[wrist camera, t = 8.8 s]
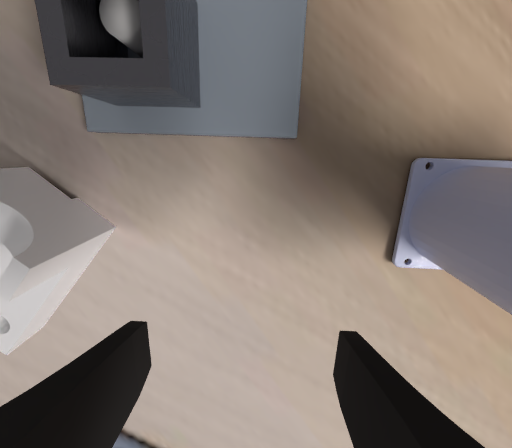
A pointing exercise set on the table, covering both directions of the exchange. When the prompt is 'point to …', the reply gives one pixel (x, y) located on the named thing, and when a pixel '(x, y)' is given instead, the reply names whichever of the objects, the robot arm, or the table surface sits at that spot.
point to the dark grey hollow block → (123, 53)
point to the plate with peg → (220, 72)
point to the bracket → (40, 251)
